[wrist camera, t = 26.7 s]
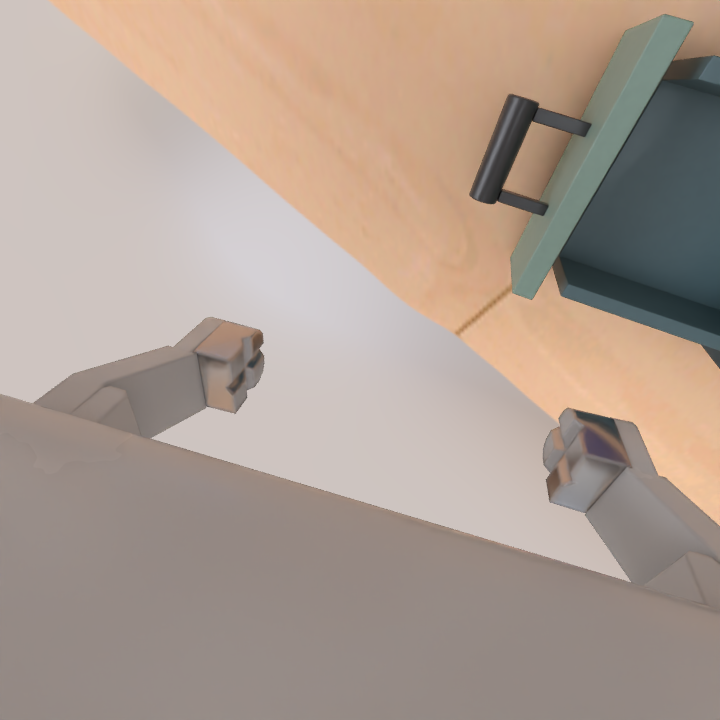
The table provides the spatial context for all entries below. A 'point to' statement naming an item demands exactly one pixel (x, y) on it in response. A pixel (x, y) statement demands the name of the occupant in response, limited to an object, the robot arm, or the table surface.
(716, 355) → the cabinet
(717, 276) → the drawer
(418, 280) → the table surface
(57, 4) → the table surface
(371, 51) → the table surface
